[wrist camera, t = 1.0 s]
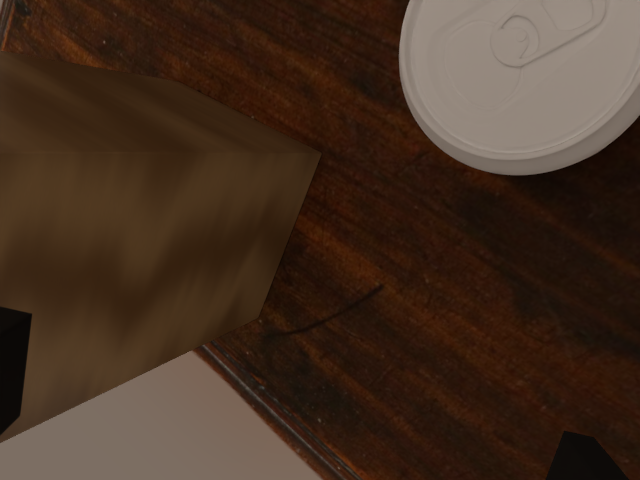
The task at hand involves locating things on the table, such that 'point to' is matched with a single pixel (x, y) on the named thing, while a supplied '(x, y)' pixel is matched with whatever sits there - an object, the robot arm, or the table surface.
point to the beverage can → (521, 78)
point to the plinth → (132, 222)
